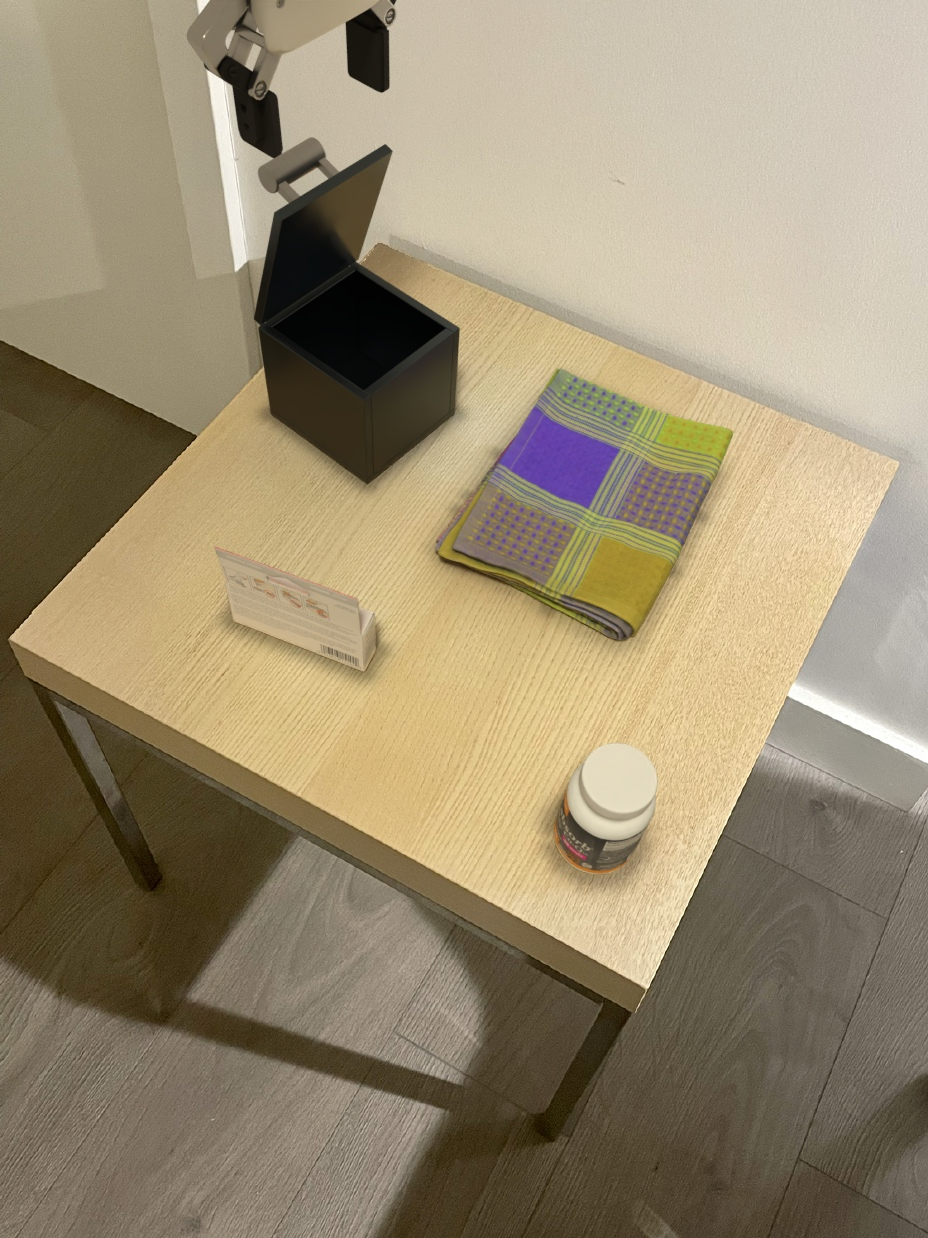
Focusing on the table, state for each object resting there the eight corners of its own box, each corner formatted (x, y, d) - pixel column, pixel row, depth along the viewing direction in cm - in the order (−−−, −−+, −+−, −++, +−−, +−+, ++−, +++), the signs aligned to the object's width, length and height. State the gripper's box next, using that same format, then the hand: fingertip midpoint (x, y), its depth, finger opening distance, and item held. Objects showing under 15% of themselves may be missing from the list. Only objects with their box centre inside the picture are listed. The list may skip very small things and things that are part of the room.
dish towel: (738, 450, 93) (747, 428, 91) (625, 658, 81) (631, 639, 79) (558, 375, 97) (561, 352, 95) (424, 563, 85) (425, 542, 83)
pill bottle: (537, 819, 74) (554, 756, 65) (608, 785, 75) (633, 720, 67) (579, 892, 71) (603, 836, 63) (652, 855, 73) (684, 796, 64)
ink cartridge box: (246, 599, 82) (229, 519, 74) (378, 649, 81) (375, 573, 72) (230, 624, 81) (211, 546, 73) (364, 675, 79) (359, 601, 71)
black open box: (455, 413, 94) (460, 327, 86) (367, 484, 89) (363, 400, 81) (359, 349, 98) (355, 260, 90) (270, 414, 93) (257, 326, 85)
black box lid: (393, 150, 78) (342, 100, 78) (281, 220, 73) (228, 165, 73) (358, 259, 89) (314, 214, 89) (260, 325, 84) (213, 278, 85)
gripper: (356, -272, 59) (365, 39, 73) (109, -178, 51) (173, 148, 66) (461, -230, 57) (449, 82, 71) (218, -125, 49) (260, 201, 63)
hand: (316, 114), depth 68 cm, fingers open, 9 cm apart
